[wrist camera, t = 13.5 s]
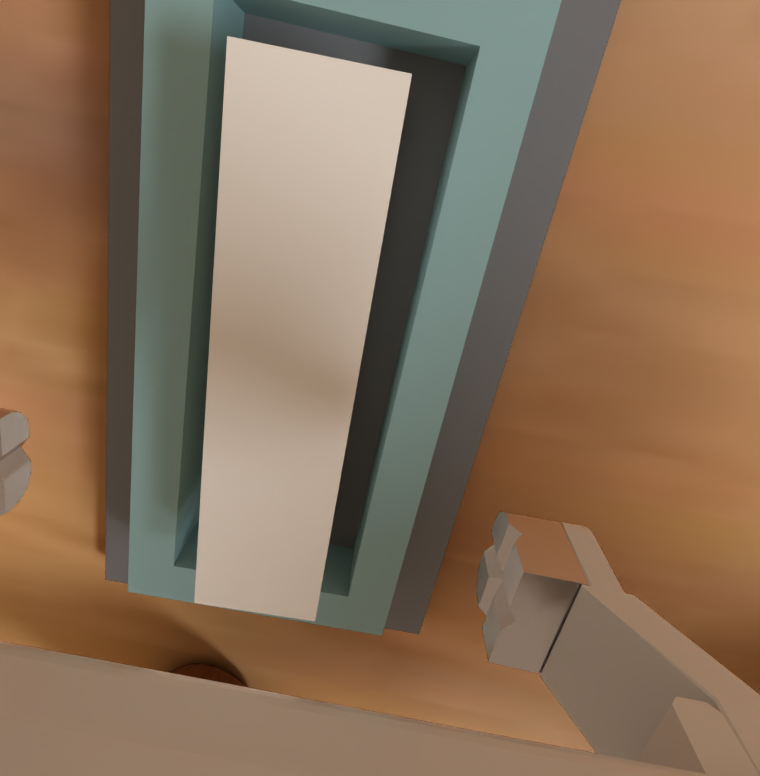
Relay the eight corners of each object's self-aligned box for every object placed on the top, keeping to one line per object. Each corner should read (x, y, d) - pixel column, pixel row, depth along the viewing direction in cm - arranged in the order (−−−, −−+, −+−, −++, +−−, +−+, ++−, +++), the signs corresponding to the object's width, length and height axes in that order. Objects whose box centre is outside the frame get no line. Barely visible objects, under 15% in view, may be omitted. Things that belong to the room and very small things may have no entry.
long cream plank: (333, 516, 20) (315, 621, 15) (240, 501, 20) (194, 602, 15) (406, 103, 15) (411, 73, 10) (279, 78, 14) (227, 35, 10)
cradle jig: (417, 615, 23) (421, 688, 20) (117, 562, 22) (70, 629, 19) (628, -59, 14) (698, -127, 11) (131, -186, 13) (46, -301, 10)
